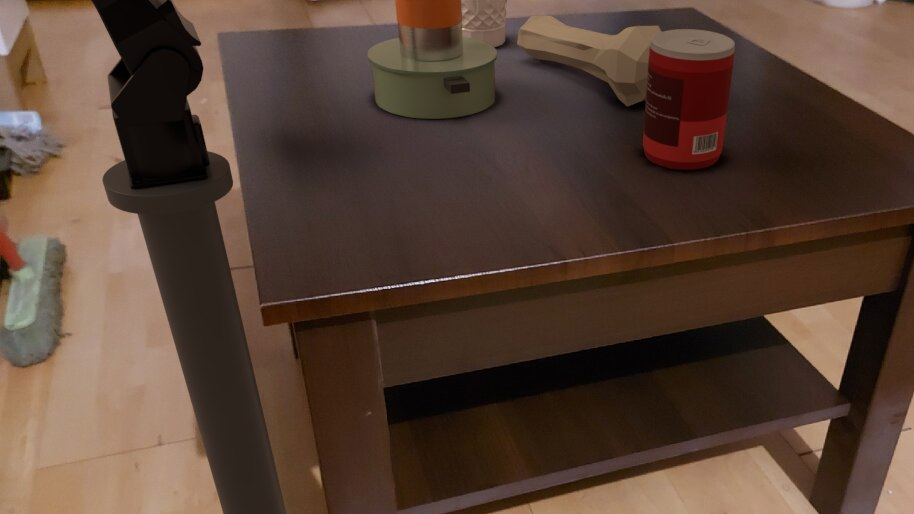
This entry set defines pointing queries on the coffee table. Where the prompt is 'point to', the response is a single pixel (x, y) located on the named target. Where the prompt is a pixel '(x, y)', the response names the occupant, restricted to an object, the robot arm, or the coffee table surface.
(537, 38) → the faceted club
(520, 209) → the coffee table surface
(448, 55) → the tin can
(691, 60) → the canned food
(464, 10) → the white cup
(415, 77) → the pot
